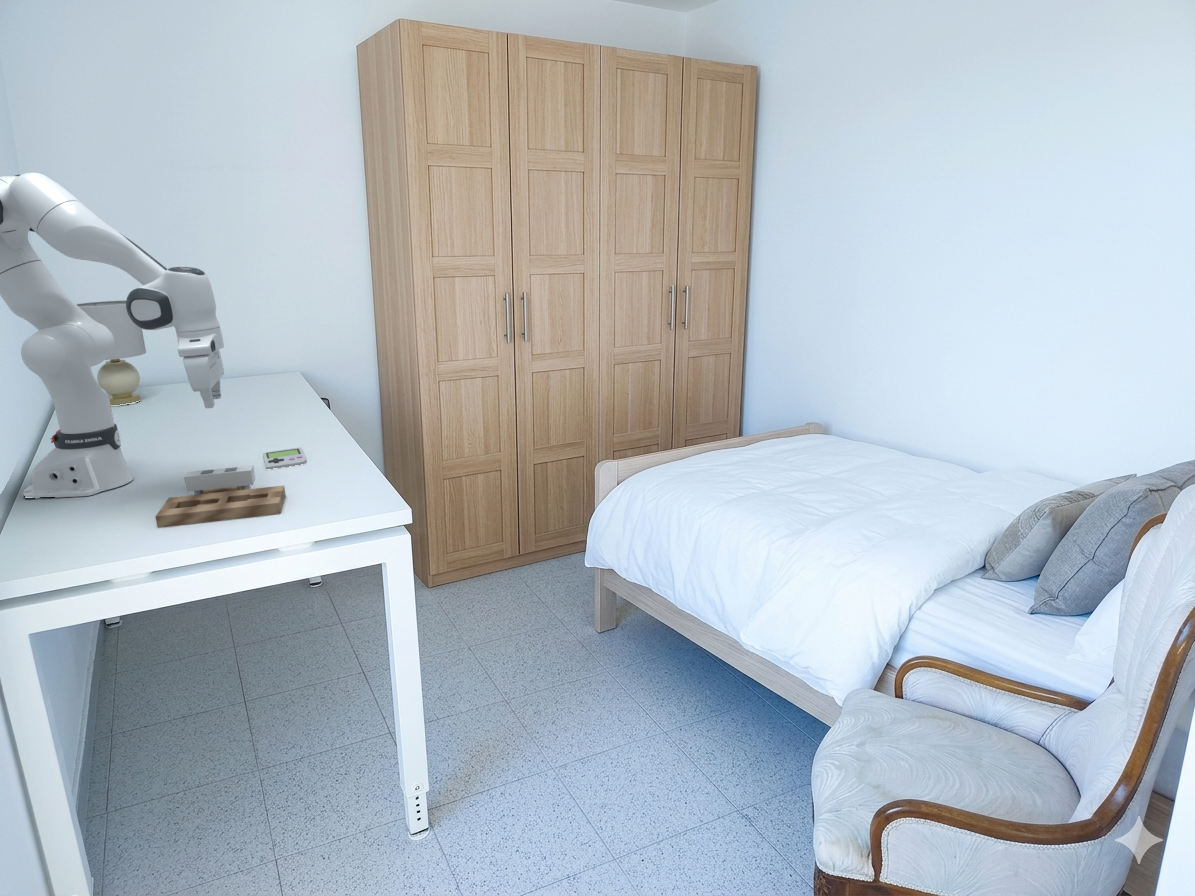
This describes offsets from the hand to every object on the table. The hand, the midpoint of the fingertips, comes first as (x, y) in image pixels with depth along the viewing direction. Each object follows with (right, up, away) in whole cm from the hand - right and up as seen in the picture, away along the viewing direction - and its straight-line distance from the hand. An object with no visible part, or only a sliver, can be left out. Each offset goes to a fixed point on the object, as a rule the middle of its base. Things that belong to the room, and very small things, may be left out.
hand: (213, 403), depth 178 cm
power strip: (0, -19, +4) cm, 19 cm away
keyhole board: (+5, -24, -5) cm, 25 cm away
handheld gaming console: (+4, -14, +31) cm, 35 cm away
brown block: (0, -21, +4) cm, 22 cm away
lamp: (-83, +6, +104) cm, 133 cm away
